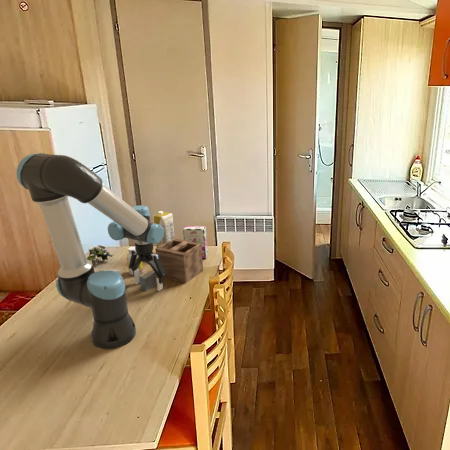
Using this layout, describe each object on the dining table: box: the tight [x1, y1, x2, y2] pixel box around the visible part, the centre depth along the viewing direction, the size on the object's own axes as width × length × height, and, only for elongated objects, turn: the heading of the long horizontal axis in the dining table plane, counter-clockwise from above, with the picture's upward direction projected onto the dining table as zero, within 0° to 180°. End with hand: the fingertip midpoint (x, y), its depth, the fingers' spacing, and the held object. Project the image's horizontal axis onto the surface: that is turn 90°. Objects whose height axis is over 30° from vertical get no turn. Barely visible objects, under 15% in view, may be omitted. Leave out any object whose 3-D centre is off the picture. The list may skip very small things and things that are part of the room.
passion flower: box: [86, 245, 113, 268], centre depth 188 cm, size 11×11×12 cm
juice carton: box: [152, 210, 175, 249], centre depth 193 cm, size 9×8×24 cm
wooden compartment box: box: [154, 237, 204, 284], centre depth 173 cm, size 14×16×14 cm
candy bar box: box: [182, 225, 209, 259], centre depth 190 cm, size 11×5×16 cm, turn 81°
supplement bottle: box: [126, 245, 144, 276], centre depth 176 cm, size 7×7×13 cm
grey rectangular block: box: [139, 270, 157, 292], centre depth 164 cm, size 7×3×6 cm, turn 150°
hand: (149, 286), depth 164 cm, fingers open, 12 cm apart
